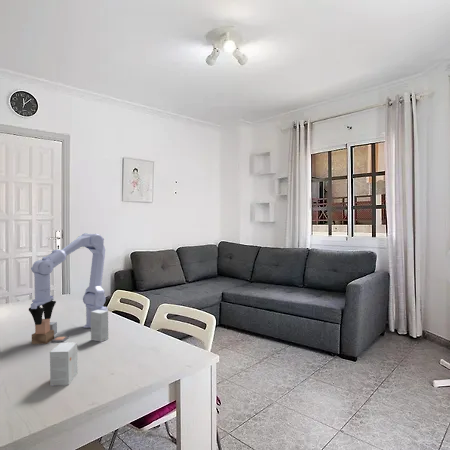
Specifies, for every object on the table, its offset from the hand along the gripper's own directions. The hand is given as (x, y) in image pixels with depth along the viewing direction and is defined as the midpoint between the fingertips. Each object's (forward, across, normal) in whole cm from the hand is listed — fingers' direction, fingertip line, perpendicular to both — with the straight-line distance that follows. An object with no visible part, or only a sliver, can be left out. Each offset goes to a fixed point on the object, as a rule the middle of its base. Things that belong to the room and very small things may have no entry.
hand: (43, 321), depth 138 cm
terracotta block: (+4, 0, 0) cm, 5 cm away
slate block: (+8, -8, -1) cm, 12 cm away
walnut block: (+8, 0, 0) cm, 9 cm away
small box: (+8, +34, +24) cm, 42 cm away
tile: (+8, -1, +6) cm, 10 cm away
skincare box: (+8, -1, +23) cm, 24 cm away
